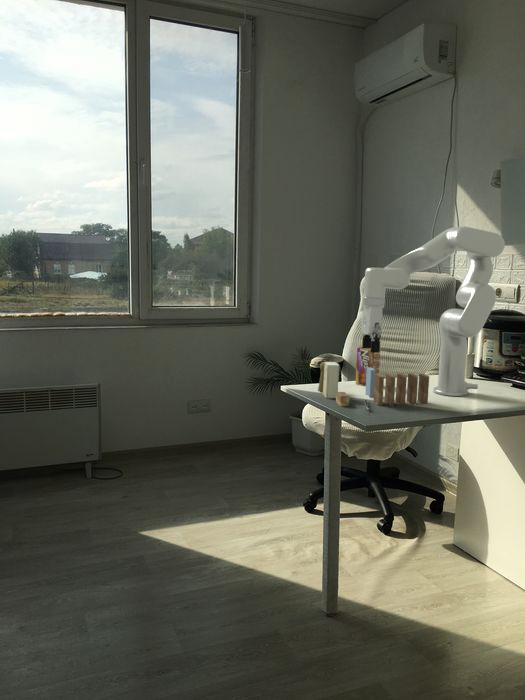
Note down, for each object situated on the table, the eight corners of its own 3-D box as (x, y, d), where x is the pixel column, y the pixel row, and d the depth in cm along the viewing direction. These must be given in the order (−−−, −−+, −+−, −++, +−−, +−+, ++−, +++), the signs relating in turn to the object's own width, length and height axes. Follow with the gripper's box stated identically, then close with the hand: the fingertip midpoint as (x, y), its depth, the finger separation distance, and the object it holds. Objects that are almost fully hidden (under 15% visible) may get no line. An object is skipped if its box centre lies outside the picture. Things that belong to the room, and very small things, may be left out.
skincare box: (322, 394, 215) (323, 361, 213) (334, 394, 215) (335, 361, 214) (325, 398, 209) (327, 364, 207) (338, 398, 209) (339, 364, 207)
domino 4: (399, 401, 206) (401, 373, 205) (405, 405, 201) (406, 376, 200) (395, 401, 206) (397, 373, 205) (400, 405, 201) (402, 376, 200)
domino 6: (421, 401, 207) (423, 373, 206) (427, 404, 203) (429, 376, 201) (417, 401, 207) (419, 373, 206) (423, 404, 202) (424, 376, 201)
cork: (337, 391, 221) (338, 362, 220) (327, 393, 217) (328, 364, 215) (324, 388, 225) (325, 360, 224) (314, 390, 221) (315, 361, 219)
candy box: (379, 386, 231) (381, 347, 229) (372, 387, 228) (374, 348, 226) (362, 382, 238) (363, 345, 236) (354, 383, 235) (356, 345, 233)
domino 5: (410, 401, 207) (412, 373, 205) (416, 404, 202) (418, 376, 201) (406, 401, 207) (408, 373, 205) (411, 405, 202) (413, 376, 200)
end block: (344, 401, 204) (344, 392, 204) (349, 406, 198) (349, 396, 198) (335, 402, 204) (336, 392, 203) (340, 406, 198) (340, 396, 197)
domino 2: (377, 401, 205) (379, 373, 204) (382, 405, 200) (384, 376, 199) (373, 401, 205) (374, 373, 204) (378, 405, 200) (379, 376, 199)
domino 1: (369, 394, 217) (371, 367, 216) (373, 397, 212) (375, 370, 211) (365, 394, 217) (366, 367, 215) (369, 397, 212) (371, 370, 210)
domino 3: (388, 401, 206) (390, 373, 204) (393, 405, 201) (395, 376, 199) (384, 401, 206) (385, 373, 204) (389, 405, 201) (390, 376, 199)
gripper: (356, 300, 217) (353, 346, 220) (371, 304, 200) (367, 353, 203) (376, 301, 218) (373, 347, 221) (392, 304, 201) (388, 354, 204)
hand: (370, 350), depth 212 cm, fingers open, 9 cm apart
